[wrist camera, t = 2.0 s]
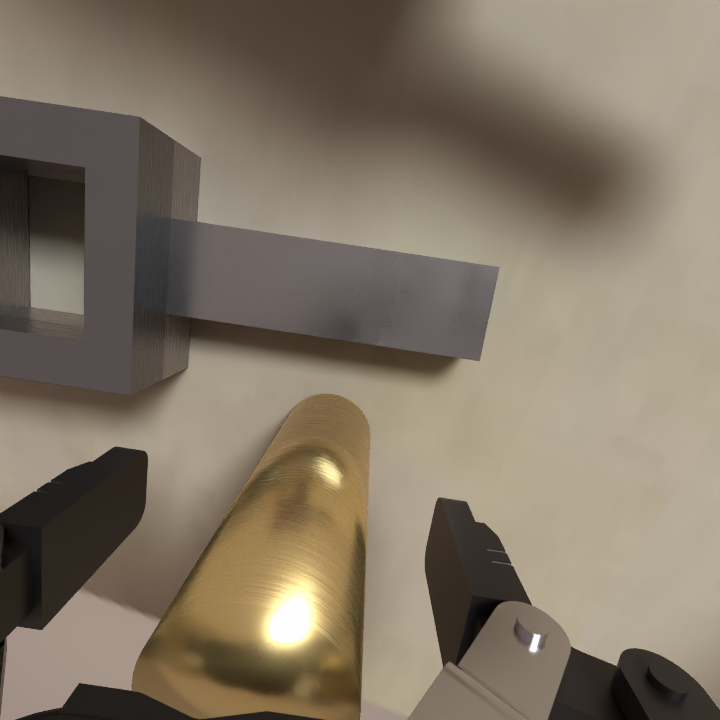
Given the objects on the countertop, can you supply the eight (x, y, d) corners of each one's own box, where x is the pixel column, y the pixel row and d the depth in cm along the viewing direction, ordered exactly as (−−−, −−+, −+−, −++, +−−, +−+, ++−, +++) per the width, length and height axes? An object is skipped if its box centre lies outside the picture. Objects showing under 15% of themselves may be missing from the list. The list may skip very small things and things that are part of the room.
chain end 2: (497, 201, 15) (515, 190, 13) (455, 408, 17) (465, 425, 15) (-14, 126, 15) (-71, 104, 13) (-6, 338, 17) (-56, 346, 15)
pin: (376, 401, 17) (377, 624, 6) (363, 481, 18) (343, 807, 7) (289, 387, 17) (135, 586, 6) (279, 468, 18) (128, 773, 7)
